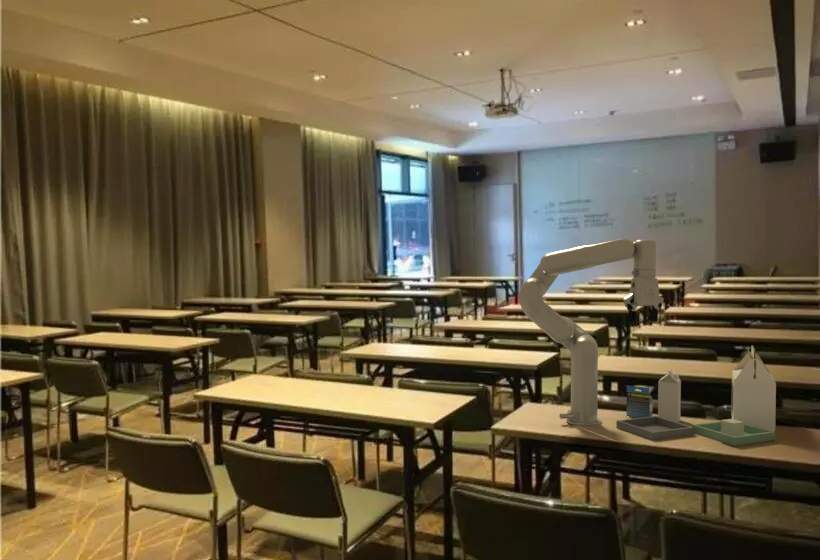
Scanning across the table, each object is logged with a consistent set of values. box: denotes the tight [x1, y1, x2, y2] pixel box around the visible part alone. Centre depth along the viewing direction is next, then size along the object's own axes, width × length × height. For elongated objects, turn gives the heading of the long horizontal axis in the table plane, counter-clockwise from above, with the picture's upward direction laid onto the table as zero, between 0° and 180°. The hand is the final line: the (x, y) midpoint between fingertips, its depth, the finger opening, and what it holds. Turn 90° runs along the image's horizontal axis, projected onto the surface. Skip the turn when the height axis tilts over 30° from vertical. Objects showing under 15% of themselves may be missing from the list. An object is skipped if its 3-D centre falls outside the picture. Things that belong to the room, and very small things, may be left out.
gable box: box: [731, 345, 777, 432], centre depth 247 cm, size 22×13×28 cm, turn 156°
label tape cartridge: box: [626, 384, 653, 418], centre depth 256 cm, size 9×4×12 cm, turn 51°
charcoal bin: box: [615, 415, 695, 441], centre depth 235 cm, size 18×18×3 cm
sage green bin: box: [691, 420, 776, 448], centre depth 229 cm, size 18×18×3 cm
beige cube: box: [720, 418, 744, 437], centre depth 229 cm, size 5×5×5 cm
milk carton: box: [657, 368, 682, 423], centre depth 251 cm, size 7×7×19 cm
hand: (643, 321), depth 243 cm, fingers open, 9 cm apart
